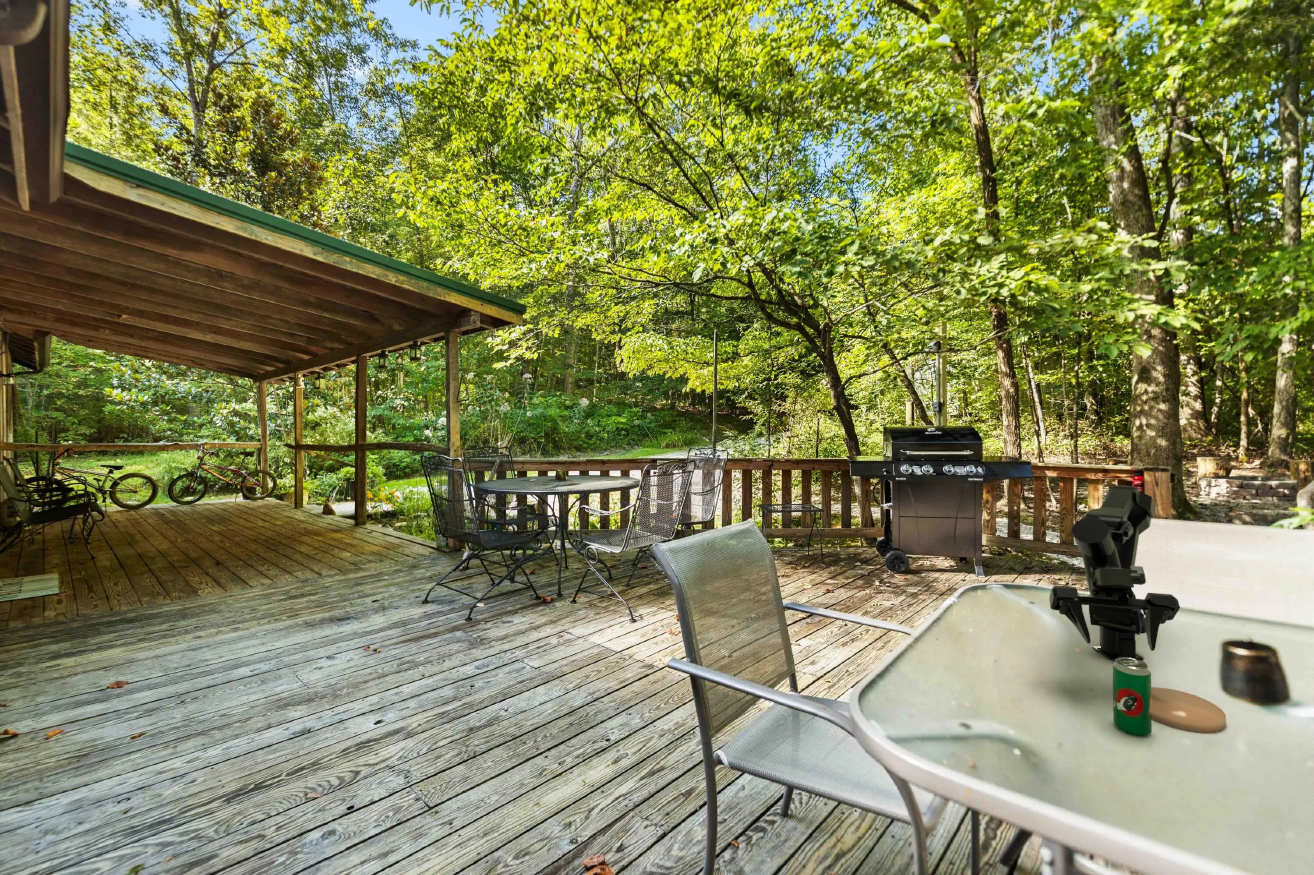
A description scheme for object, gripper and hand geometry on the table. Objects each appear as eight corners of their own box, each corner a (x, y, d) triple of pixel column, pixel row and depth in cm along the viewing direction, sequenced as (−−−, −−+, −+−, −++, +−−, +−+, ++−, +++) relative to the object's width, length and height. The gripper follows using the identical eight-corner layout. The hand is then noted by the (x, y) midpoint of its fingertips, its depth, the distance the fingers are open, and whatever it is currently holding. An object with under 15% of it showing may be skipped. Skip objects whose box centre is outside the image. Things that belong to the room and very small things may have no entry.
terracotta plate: (1118, 695, 106) (1118, 687, 106) (1186, 695, 104) (1186, 687, 104) (1168, 732, 94) (1168, 724, 94) (1246, 733, 92) (1246, 724, 92)
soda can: (1159, 739, 92) (1158, 670, 92) (1124, 737, 94) (1123, 669, 93) (1139, 721, 97) (1138, 656, 97) (1106, 720, 98) (1105, 655, 98)
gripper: (1050, 545, 108) (1063, 621, 99) (1175, 551, 99) (1202, 635, 90) (1044, 572, 115) (1055, 645, 106) (1160, 580, 107) (1183, 660, 98)
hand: (1120, 646), depth 100 cm, fingers open, 9 cm apart
